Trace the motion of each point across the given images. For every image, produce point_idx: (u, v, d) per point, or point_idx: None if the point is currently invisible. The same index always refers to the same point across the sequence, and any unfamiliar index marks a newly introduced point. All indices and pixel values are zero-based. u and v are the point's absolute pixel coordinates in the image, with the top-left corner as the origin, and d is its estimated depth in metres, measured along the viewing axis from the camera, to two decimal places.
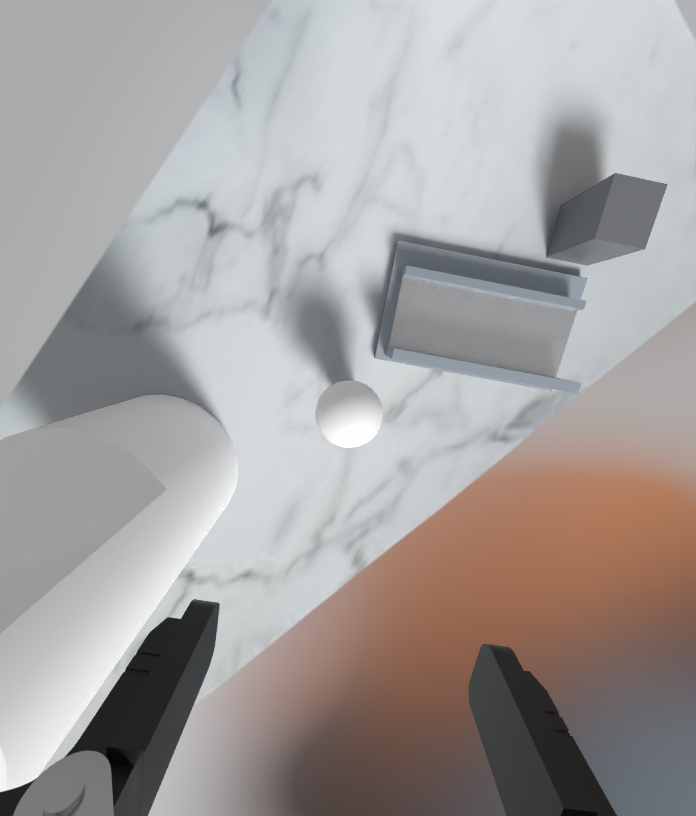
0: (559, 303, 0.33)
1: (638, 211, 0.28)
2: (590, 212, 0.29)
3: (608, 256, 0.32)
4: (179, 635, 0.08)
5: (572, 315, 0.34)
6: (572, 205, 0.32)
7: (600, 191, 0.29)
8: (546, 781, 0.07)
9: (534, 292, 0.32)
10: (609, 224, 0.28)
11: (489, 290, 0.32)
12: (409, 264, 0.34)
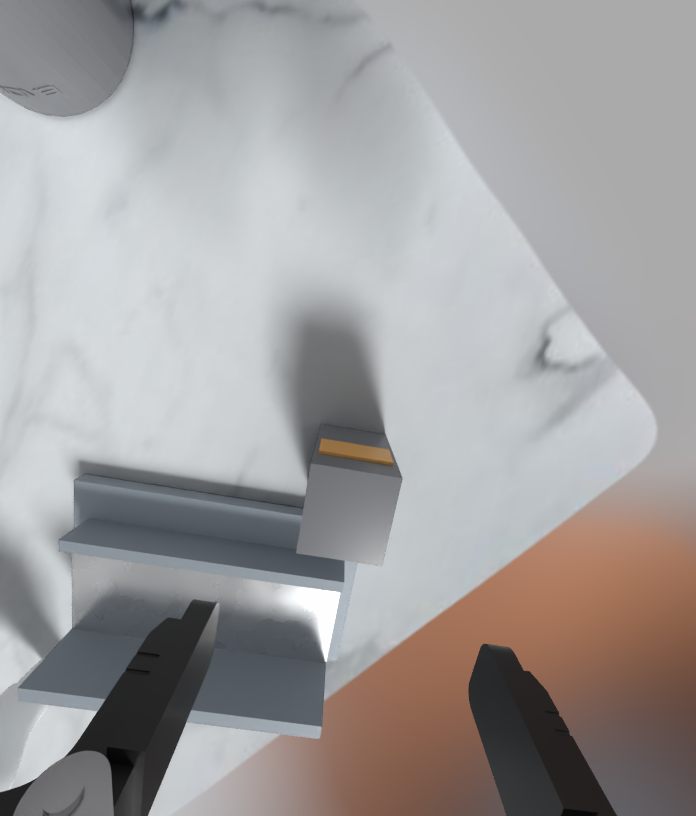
0: (304, 586, 0.22)
1: (360, 516, 0.17)
2: None
3: None
4: (179, 635, 0.08)
5: None
6: None
7: None
8: (546, 782, 0.07)
9: (262, 572, 0.21)
10: (315, 534, 0.17)
11: (195, 569, 0.21)
12: (97, 510, 0.23)
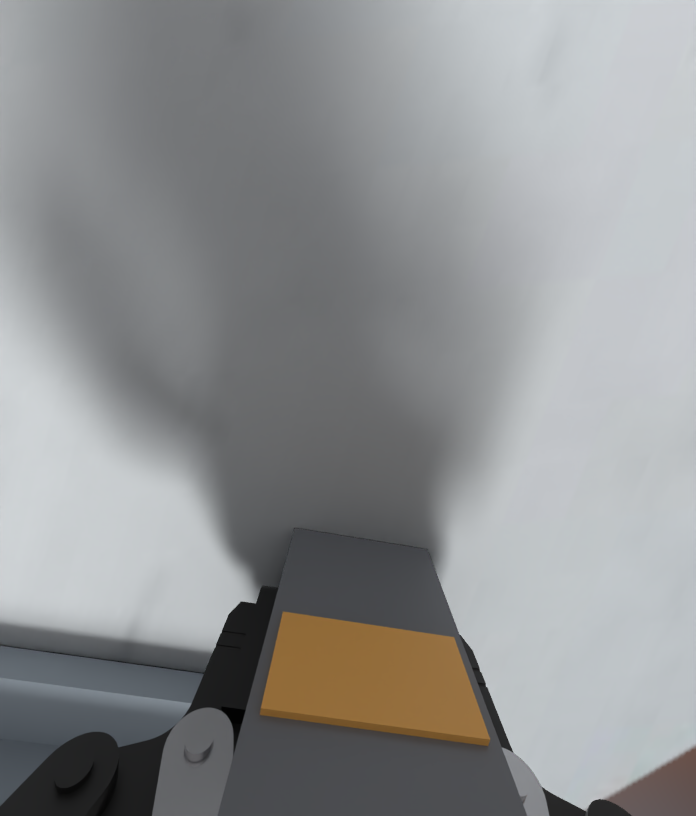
0: None
1: None
2: None
3: None
4: (258, 616, 0.09)
5: None
6: None
7: None
8: None
9: None
10: None
11: None
12: None
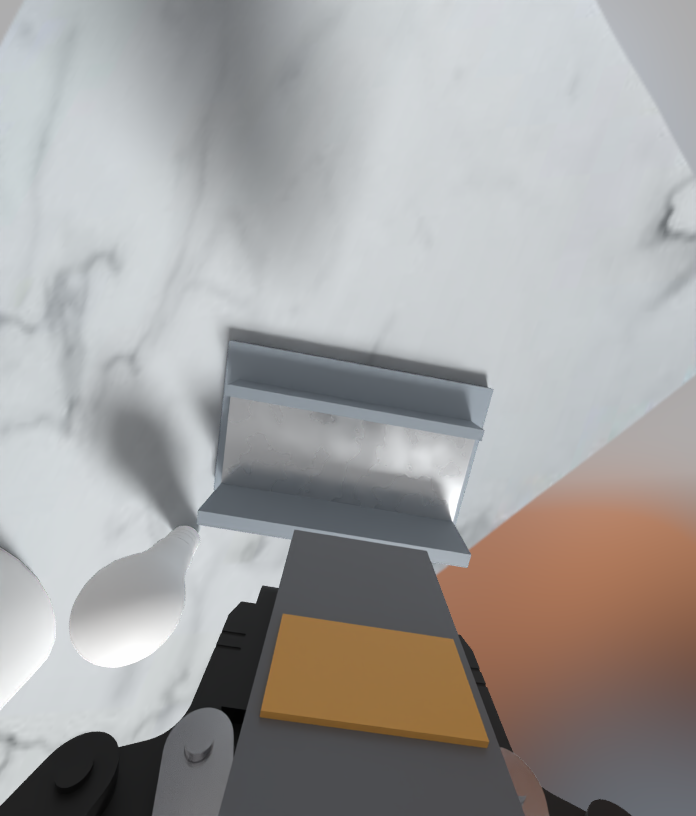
0: (446, 433, 0.23)
1: None
2: None
3: None
4: (258, 616, 0.09)
5: (471, 443, 0.25)
6: None
7: None
8: None
9: (410, 419, 0.23)
10: None
11: None
12: (247, 372, 0.25)
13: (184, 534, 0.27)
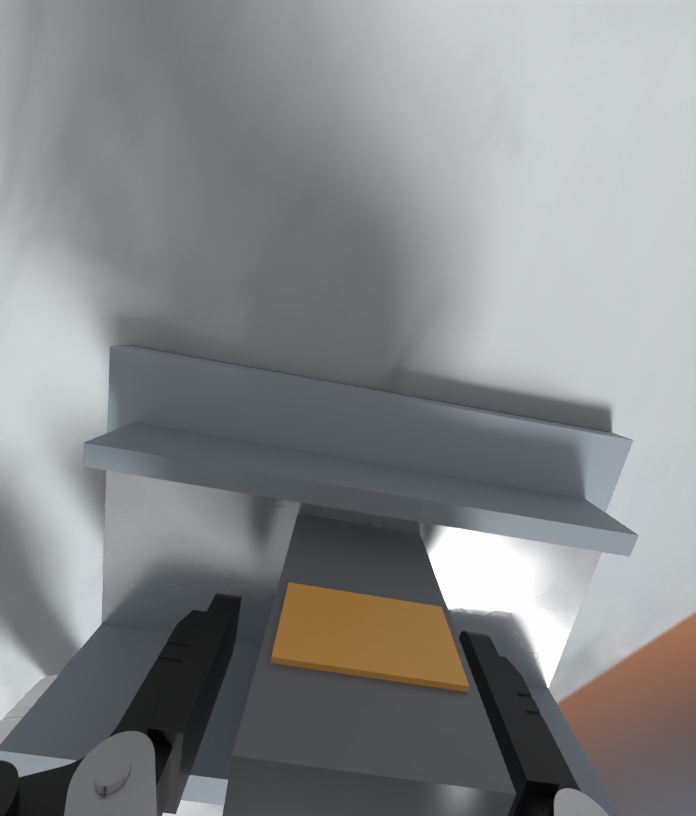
0: (558, 542, 0.11)
1: None
2: None
3: None
4: (206, 626, 0.09)
5: (595, 551, 0.12)
6: None
7: None
8: (513, 757, 0.07)
9: (483, 514, 0.11)
10: None
11: (349, 507, 0.11)
12: (151, 407, 0.13)
13: None
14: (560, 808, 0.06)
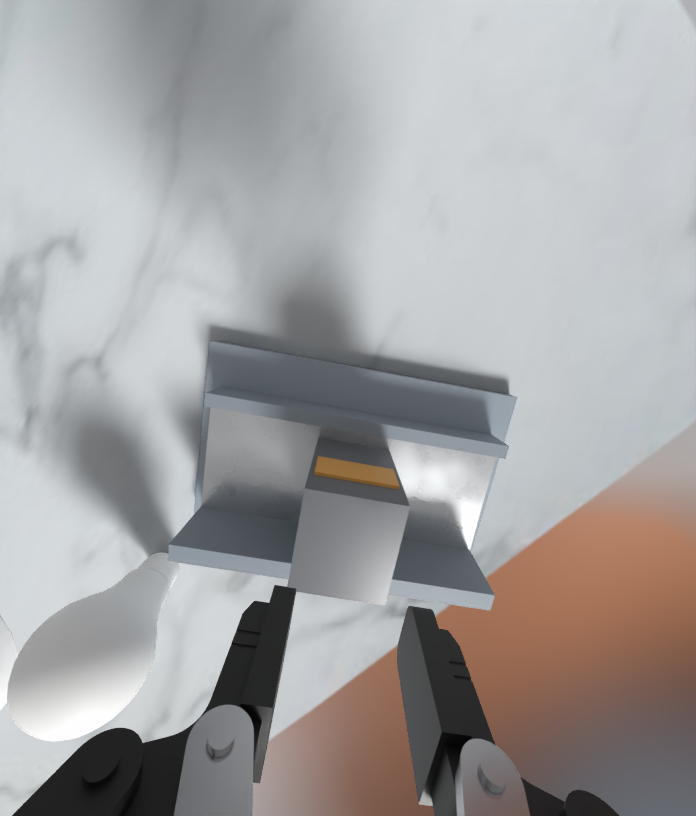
0: (464, 450, 0.20)
1: (361, 549, 0.14)
2: None
3: None
4: (272, 615, 0.09)
5: (491, 460, 0.21)
6: None
7: None
8: (434, 713, 0.08)
9: (422, 433, 0.20)
10: (309, 568, 0.15)
11: None
12: (231, 377, 0.21)
13: (160, 564, 0.23)
14: (465, 762, 0.07)
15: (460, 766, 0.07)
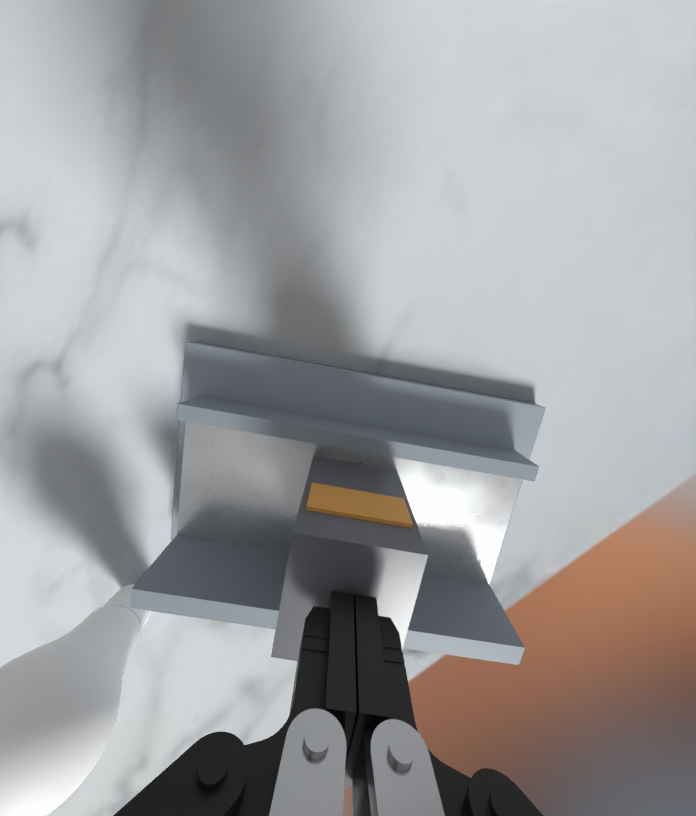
0: (486, 471, 0.17)
1: None
2: None
3: None
4: (336, 620, 0.09)
5: (517, 482, 0.18)
6: None
7: None
8: (357, 696, 0.08)
9: (436, 452, 0.17)
10: (300, 631, 0.12)
11: None
12: (211, 384, 0.18)
13: None
14: (376, 751, 0.07)
15: (370, 745, 0.07)
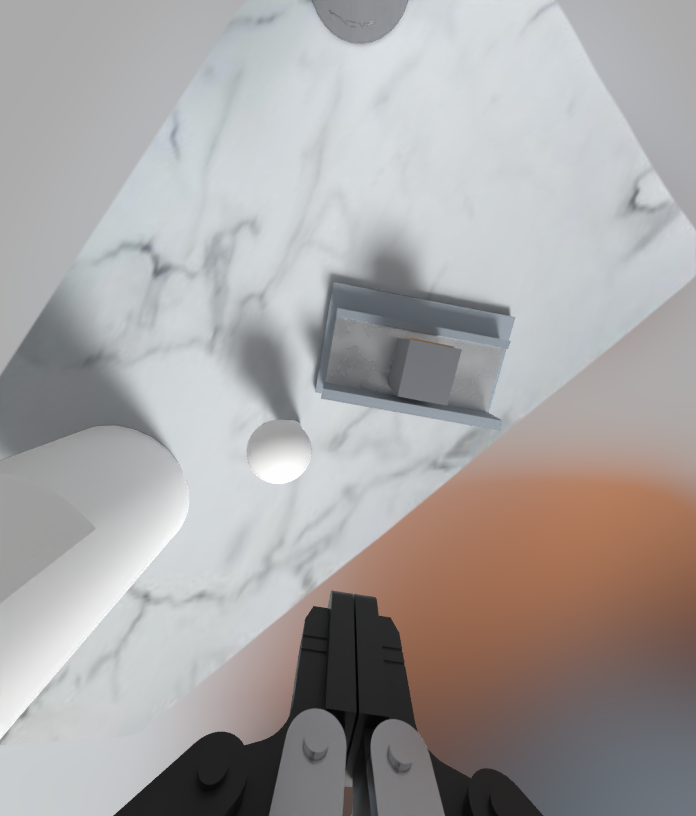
0: (484, 343, 0.34)
1: (436, 373, 0.29)
2: (400, 365, 0.30)
3: None
4: (336, 620, 0.09)
5: (500, 353, 0.35)
6: (399, 345, 0.33)
7: (405, 349, 0.30)
8: (357, 695, 0.08)
9: (460, 333, 0.34)
10: (410, 384, 0.29)
11: (417, 331, 0.34)
12: (344, 304, 0.36)
13: (295, 423, 0.38)
14: (376, 751, 0.07)
15: (370, 745, 0.07)
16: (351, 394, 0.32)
